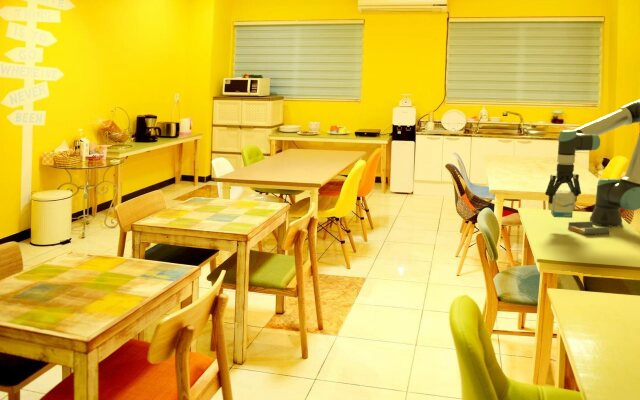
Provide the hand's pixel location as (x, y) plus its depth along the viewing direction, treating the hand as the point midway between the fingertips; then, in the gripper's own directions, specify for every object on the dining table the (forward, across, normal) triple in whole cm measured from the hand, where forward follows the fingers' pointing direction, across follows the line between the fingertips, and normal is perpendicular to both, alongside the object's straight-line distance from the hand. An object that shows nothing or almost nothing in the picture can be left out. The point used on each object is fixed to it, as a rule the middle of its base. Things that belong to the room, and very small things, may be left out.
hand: (561, 209), depth 298 cm
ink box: (+3, 0, 0) cm, 3 cm away
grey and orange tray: (+11, -13, +4) cm, 17 cm away
